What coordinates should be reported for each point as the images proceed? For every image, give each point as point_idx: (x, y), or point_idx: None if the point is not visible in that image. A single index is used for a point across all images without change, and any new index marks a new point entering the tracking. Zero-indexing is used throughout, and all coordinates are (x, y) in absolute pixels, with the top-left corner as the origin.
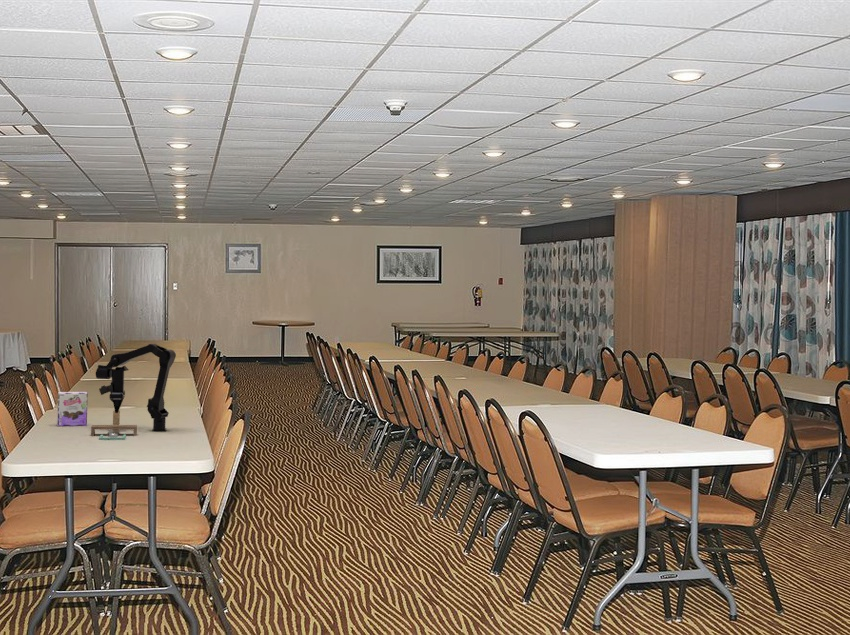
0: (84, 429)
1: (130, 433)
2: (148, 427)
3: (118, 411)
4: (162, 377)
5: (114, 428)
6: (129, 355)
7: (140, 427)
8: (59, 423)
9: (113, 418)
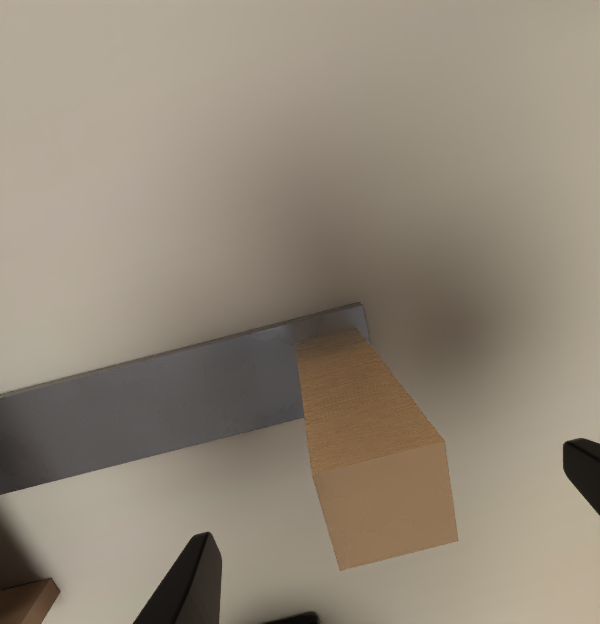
0: (170, 38)
1: (60, 551)
2: (433, 555)
3: (335, 550)
4: None
5: None
6: None
7: None
8: None
9: (302, 398)
